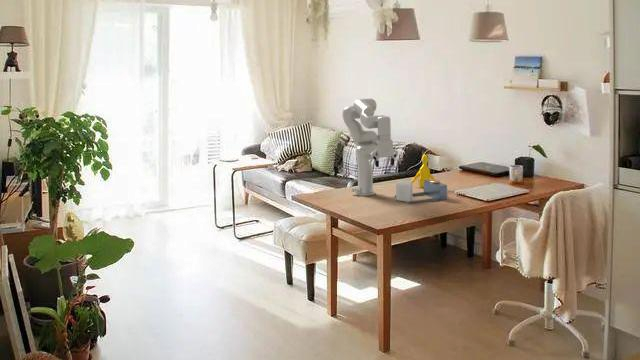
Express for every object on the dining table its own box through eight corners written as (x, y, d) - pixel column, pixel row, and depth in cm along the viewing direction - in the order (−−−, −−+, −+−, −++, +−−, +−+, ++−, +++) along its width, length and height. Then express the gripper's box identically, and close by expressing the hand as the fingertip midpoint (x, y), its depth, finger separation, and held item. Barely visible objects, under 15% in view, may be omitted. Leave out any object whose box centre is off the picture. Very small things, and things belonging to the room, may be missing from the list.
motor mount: (409, 204, 344) (409, 187, 342) (394, 197, 362) (394, 182, 360) (447, 199, 353) (447, 183, 351) (431, 193, 370) (431, 177, 368)
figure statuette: (435, 185, 393) (436, 153, 389) (438, 187, 386) (439, 154, 381) (409, 186, 393) (409, 154, 388) (412, 188, 385) (412, 156, 381)
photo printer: (413, 200, 352) (413, 180, 350) (410, 202, 349) (410, 182, 346) (398, 199, 358) (397, 179, 356) (394, 200, 355) (394, 180, 352)
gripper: (373, 139, 336) (373, 168, 339) (400, 137, 341) (400, 165, 344) (368, 138, 343) (368, 166, 346) (394, 135, 348) (395, 164, 351)
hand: (384, 166), depth 345 cm, fingers open, 9 cm apart
